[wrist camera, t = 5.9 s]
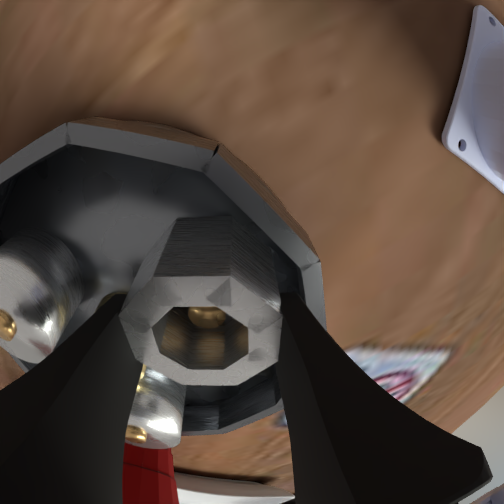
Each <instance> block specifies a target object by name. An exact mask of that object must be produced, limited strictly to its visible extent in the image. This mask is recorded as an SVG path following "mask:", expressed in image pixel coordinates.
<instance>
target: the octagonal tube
mask: <svg viewBox="0 0 504 504" xmlns="http://www.w3.org/2000/svg"><path fill="white" fill-rule="evenodd" d="M280 304H281V299H280V294H279V289H278V284H277V279H276V274H275V269H274V264H273V259H272V254H271V249H270V248H269V247H268V246H266V245H265V244H264V243H263V242H262V241H261V240H260V239H258V238H257V237H256V236H255V235H254V234H253V233H252V232H250V231H249V230H248V229H247V228H246V227H245V226H244V225H242V224H241V223H240V222H239V221H238V220H237V219H236V218H234V217H233V216H204V217H178V218H177V219H176V220H175V221H174V222H173V223H172V224H171V225H170V227H169V228H168V229H167V230H166V231H165V232H164V233H163V235H162V236H161V237H160V238H159V239H158V240H157V241H156V243H155V244H154V245H153V246H152V247H151V248H150V250H149V251H148V252H147V254H146V256H145V258H144V260H143V262H142V264H141V266H140V268H139V270H138V273H137V275H136V277H135V279H134V281H133V283H132V285H131V288H130V290H129V292H128V294H127V296H126V299H125V301H124V303H123V306H122V309H121V311H120V313H119V315H118V316H119V318H120V321H121V324H122V326H123V329H124V332H125V334H126V337H127V339H128V342H129V344H130V346H131V349H132V351H133V354H134V356H135V358H136V360H137V361H139V362H141V363H143V364H144V365H146V366H148V367H150V368H151V369H153V370H155V371H157V372H159V373H161V374H162V375H164V376H166V377H168V378H170V379H172V380H174V381H176V382H178V383H180V384H182V385H214V386H227V385H238V384H240V383H242V382H244V381H246V380H247V379H249V378H251V377H252V376H254V375H256V374H258V373H259V372H261V371H263V370H264V369H266V368H268V367H269V366H271V365H272V364H274V363H276V362H277V361H278V356H279V347H280V337H281V328H282V317H283V315H282V311H281V307H280ZM212 306H217V307H218V308H220V309H221V310H223V311H224V312H226V318H225V321H224V322H223V323H222V324H221V325H220V326H218V327H215V328H202V327H199V326H197V325H195V324H194V323H193V322H192V321H191V320H190V318H189V316H188V310H189V307H212Z"/></svg>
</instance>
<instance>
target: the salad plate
mask: <svg viewBox="0 0 504 504" xmlns="http://www.w3.org/2000/svg"><path fill="white" fill-rule="evenodd" d="M174 478H175V480H176V485H177V492H178V499H179V504H280V503H283V502H286V501H288V500H291V499H293V498H295V496H294V495H293V494H292V493H290V492H289V491H287V490H284V489H282V488H279V487H275V486H270V485H264V484H259V483H257V482H251V481H239V480H228V479H219V478H210V477H203V476H196V475H190V474H184V473H179V472H174Z"/></svg>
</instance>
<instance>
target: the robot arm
mask: <svg viewBox="0 0 504 504" xmlns="http://www.w3.org/2000/svg"><path fill="white" fill-rule="evenodd" d="M459 141H461V146H460V148H459V147H458V143H459ZM442 143H443V145H444V147H445V148H446V149H448V150H449V151H451V152H452V153H453V154H455V155H456V156H457V157H459V158H460V159H461V160H463V161H464V162H465V163H467V164H468V165H469V166H471V167H472V168H473V169H474V170H476V171H477V172H478V173H479V174H481V175H482V176H483V177H484V178H486V179H487V180H488V181H489V182H490V183H491V184H493V185H494V186H495V187H496V188H497V189H498V190H500V191H501V192H502V193H503V194H504V26H503V25H502V24H501V23H500V22H499V21H498V20H497V19H496V18H495V17H494V16H493V15H492V14H491V13H490V12H489V11H488V10H487V9H486V8H485V7H484V6H482V5H478V6H475V7H474V10H473V17H472V23H471V29H470V34H469V40H468V45H467V49H466V54H465V58H464V62H463V67H462V71H461V74H460V78H459V82H458V85H457V89H456V92H455V96H454V99H453V102H452V106H451V109H450V112H449V115H448V118H447V121H446V124H445V127H444V130H443V133H442ZM279 294H280V299H281V304H280V307H281V311H282V315H283V317H282V328H281V337H280V347H279V356H278V361H277V362H276V363H275V368H276V373H277V378H278V382H279V387H280V392H281V396H282V401H283V406H284V410H285V415H286V420H287V424H288V429H289V435H290V442H291V452H292V463H293V474H294V486H295V501H296V504H458V502H459V501H461V500H463V499H464V498H466V497H468V496H469V495H471V494H473V493H474V492H476V491H477V490H479V489H480V488H482V487H483V486H485V485H486V484H488V483H489V482H490V481H491V480H492V477H493V476H492V473H491V470H490V468H489V465H488V462H487V460H486V458H485V455H484V453H483V451H482V449H481V447H478V446H476V445H474V444H472V443H469V442H467V441H465V440H463V439H461V438H458V437H456V436H454V435H452V434H450V433H448V432H446V431H444V430H443V429H441V428H439V427H437V426H436V425H434V424H432V423H431V422H429V421H427V420H425V419H424V418H422V417H421V416H419V415H418V414H417V413H415V412H414V411H412V410H411V409H409V408H408V407H407V406H405V405H404V404H402V403H401V402H399V401H398V400H397V399H395V398H394V397H393V396H391V395H390V394H389V393H388V392H387V391H385V390H384V389H383V388H382V387H380V386H379V385H378V384H377V383H376V382H375V381H374V380H372V379H371V378H370V377H369V376H368V375H367V374H366V373H365V372H364V371H363V370H362V369H361V368H360V367H359V366H358V365H357V364H356V363H355V362H354V361H353V360H352V359H351V358H350V357H349V356H348V355H347V354H346V353H345V352H344V351H343V350H342V349H341V347H340V346H339V345H338V344H337V343H336V342H335V341H334V339H333V338H332V337H331V336H330V335H329V333H328V332H327V331H326V330H325V329H324V328H323V326H322V325H321V324H320V323H319V321H318V320H317V319H316V317H315V316H314V315H313V313H312V312H311V311H310V309H309V308H308V307H307V305H306V304H305V302H304V301H303V300H302V298H301V297H300V295H299V294H298V293H297V292H286V293H279ZM126 296H127V294H115V295H114V296H113V297H111V298H110V299H109V300H108V301H107V302H106V303H105V304H103V305H102V306H101V307H100V308H99V309H98V310H97V311H96V312H95V313H94V314H93V315H92V316H91V317H90V318H89V319H88V320H86V321H85V322H84V323H83V324H82V325H81V326H80V327H79V328H78V329H77V330H76V331H75V332H74V333H73V334H72V335H71V336H69V337H68V338H67V339H66V340H65V341H64V342H63V343H62V344H60V345H59V346H58V347H57V348H56V349H55V350H54V351H53V352H52V353H50V354H49V355H48V356H47V357H46V358H45V359H43V360H42V361H41V362H40V363H38V364H37V365H36V366H35V367H33V368H32V369H31V370H29V371H28V372H27V373H25V374H24V375H23V376H21V377H20V378H18V379H17V380H15V381H14V382H12V383H11V384H9V385H8V386H6V387H5V388H3V389H2V390H0V504H123V498H122V474H123V456H124V445H125V436H126V430H127V425H128V420H129V416H130V412H131V409H132V405H133V401H134V397H135V394H136V390H137V386H138V383H139V379H140V375H141V372H142V368H143V363H141V362H139V361H137V360H136V358H135V356H134V354H133V351H132V349H131V346H130V344H129V342H128V339H127V337H126V334H125V332H124V329H123V326H122V324H121V321H120V318H119V316H118V315H119V313H120V311H121V309H122V306H123V303H124V301H125V299H126ZM470 504H504V484H502V485H501V486H499V487H496V488H495V489H493V490H491V491H490V492H488V493H486V494H484V495H483V496H481V497H480V498H478V499H477V500H475V501H473V502H472V503H470Z"/></svg>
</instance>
